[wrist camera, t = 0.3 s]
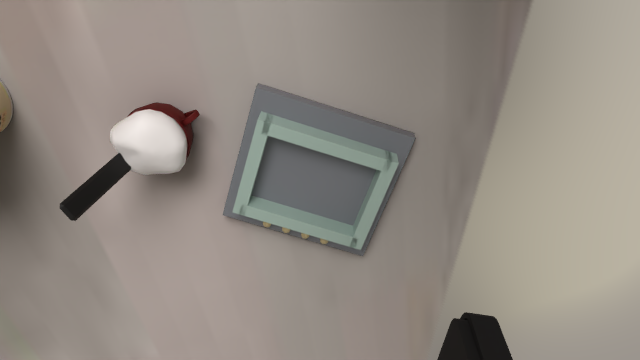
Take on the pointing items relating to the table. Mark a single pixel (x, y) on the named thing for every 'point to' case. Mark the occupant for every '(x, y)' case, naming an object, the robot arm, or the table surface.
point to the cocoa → (138, 152)
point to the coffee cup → (5, 106)
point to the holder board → (315, 170)
